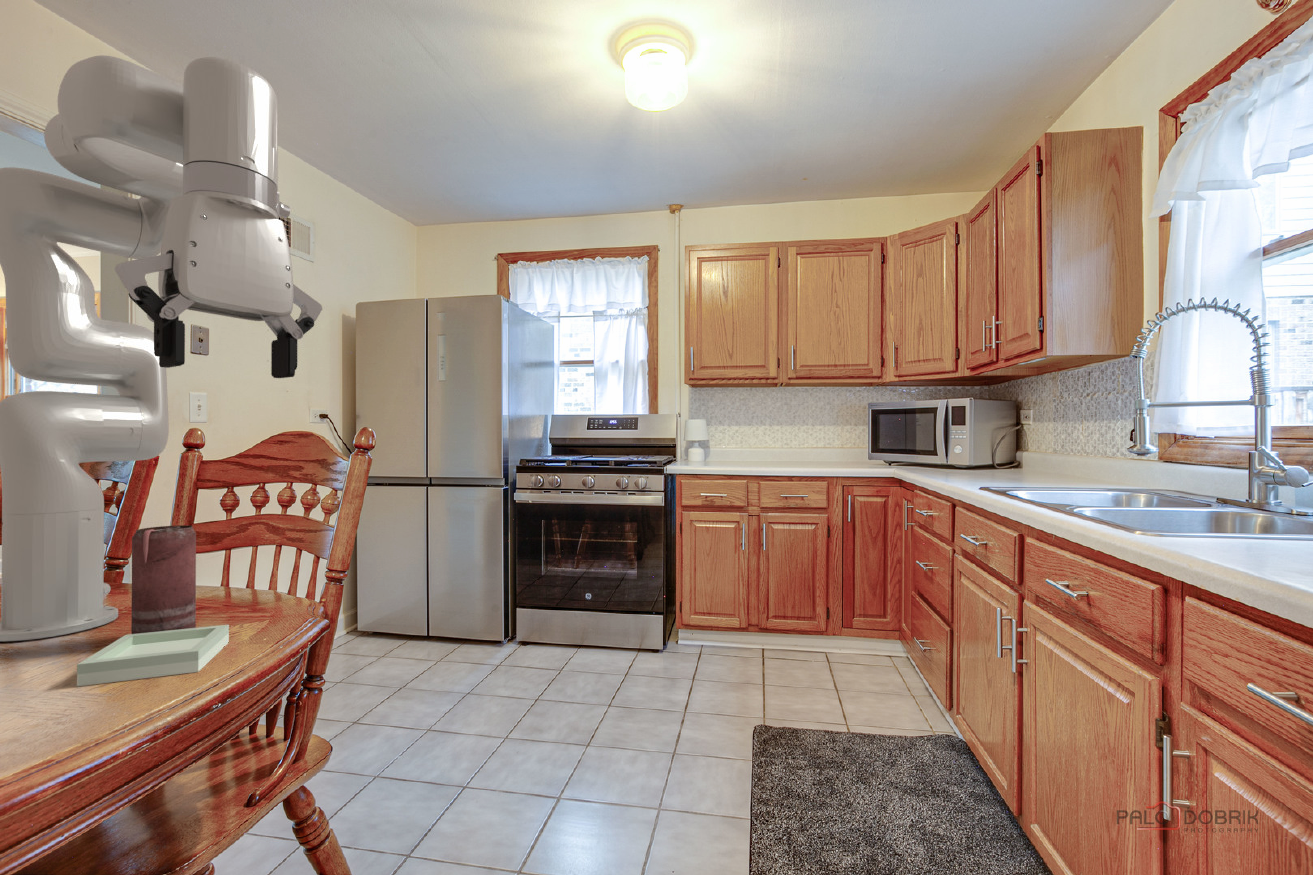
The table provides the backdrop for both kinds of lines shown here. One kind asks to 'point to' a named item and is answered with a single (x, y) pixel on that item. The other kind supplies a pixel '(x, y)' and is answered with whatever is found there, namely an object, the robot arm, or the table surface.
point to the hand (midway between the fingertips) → (231, 372)
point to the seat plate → (153, 655)
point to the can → (163, 579)
